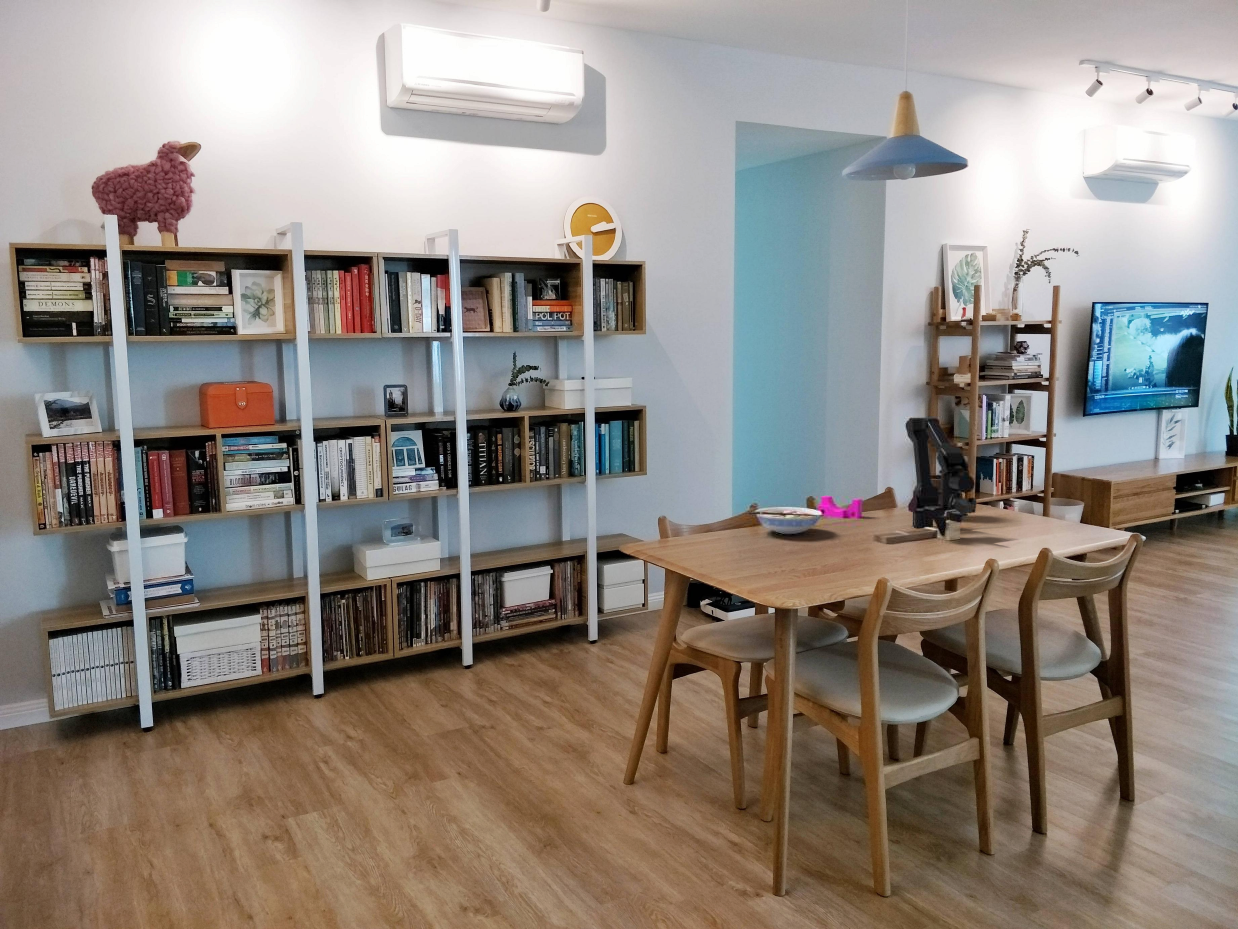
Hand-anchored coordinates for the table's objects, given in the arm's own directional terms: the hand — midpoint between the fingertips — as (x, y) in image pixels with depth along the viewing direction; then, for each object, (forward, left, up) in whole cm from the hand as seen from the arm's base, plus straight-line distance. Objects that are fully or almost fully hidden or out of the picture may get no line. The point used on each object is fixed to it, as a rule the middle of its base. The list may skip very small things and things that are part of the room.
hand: (948, 535), depth 323 cm
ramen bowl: (-35, -39, -1) cm, 53 cm away
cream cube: (0, 0, -1) cm, 1 cm away
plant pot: (-26, +25, -1) cm, 37 cm away
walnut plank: (-7, -10, -1) cm, 12 cm away
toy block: (-50, -3, -2) cm, 50 cm away
